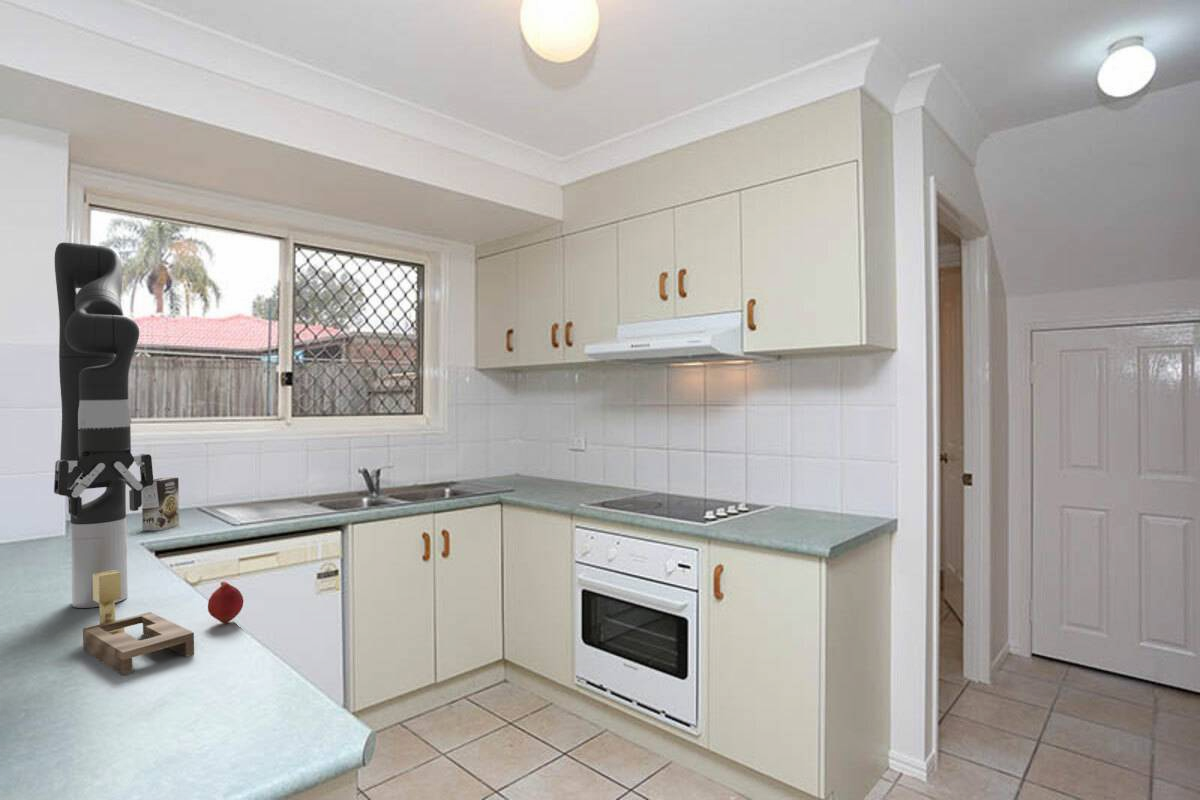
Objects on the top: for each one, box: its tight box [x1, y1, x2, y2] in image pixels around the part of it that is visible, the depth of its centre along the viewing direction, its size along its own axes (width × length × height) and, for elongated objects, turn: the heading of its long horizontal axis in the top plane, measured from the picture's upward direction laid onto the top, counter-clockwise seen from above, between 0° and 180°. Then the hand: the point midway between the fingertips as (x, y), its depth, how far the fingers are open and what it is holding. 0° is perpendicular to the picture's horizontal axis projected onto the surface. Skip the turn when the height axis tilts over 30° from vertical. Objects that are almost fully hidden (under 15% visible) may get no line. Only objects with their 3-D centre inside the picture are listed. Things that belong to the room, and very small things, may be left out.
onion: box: [207, 580, 244, 624], centre depth 122 cm, size 6×6×8 cm
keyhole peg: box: [93, 570, 125, 635], centre depth 117 cm, size 5×5×11 cm
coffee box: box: [141, 477, 180, 532], centre depth 212 cm, size 9×6×16 cm
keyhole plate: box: [82, 611, 195, 676], centre depth 109 cm, size 18×10×4 cm, turn 54°
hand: (106, 514), depth 117 cm, fingers open, 8 cm apart
